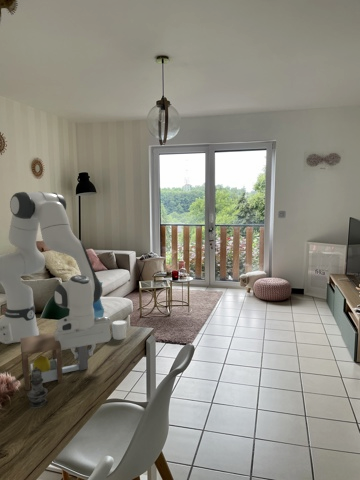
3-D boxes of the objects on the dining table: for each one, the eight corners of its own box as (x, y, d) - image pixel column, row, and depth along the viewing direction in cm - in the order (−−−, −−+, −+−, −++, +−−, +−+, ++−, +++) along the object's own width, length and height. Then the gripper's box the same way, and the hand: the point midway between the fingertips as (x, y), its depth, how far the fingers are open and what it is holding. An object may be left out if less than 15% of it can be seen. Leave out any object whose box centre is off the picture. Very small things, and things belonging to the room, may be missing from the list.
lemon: (34, 382, 125) (33, 360, 124) (33, 376, 130) (31, 354, 129) (51, 379, 128) (50, 357, 127) (49, 372, 132) (48, 351, 131)
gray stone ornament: (31, 398, 115) (29, 362, 114) (50, 397, 116) (48, 361, 114) (25, 409, 109) (22, 371, 108) (45, 408, 110) (43, 370, 108)
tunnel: (25, 390, 120) (22, 352, 119) (22, 373, 132) (20, 338, 130) (62, 381, 125) (60, 345, 124) (57, 366, 137) (55, 332, 136)
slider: (33, 384, 123) (31, 359, 122) (30, 373, 131) (29, 349, 130) (89, 372, 132) (88, 348, 130) (84, 362, 140) (83, 339, 139)
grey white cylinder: (124, 340, 161) (123, 325, 160) (109, 339, 162) (109, 324, 161) (129, 334, 168) (129, 320, 167) (115, 333, 169) (114, 319, 168)
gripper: (107, 313, 140) (109, 348, 142) (52, 322, 131) (53, 358, 133) (112, 318, 135) (113, 354, 136) (54, 327, 126) (56, 365, 127)
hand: (83, 356), depth 135 cm, fingers open, 4 cm apart
